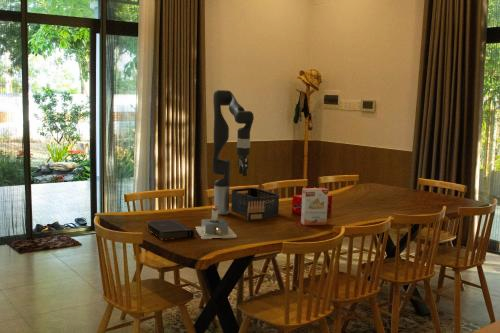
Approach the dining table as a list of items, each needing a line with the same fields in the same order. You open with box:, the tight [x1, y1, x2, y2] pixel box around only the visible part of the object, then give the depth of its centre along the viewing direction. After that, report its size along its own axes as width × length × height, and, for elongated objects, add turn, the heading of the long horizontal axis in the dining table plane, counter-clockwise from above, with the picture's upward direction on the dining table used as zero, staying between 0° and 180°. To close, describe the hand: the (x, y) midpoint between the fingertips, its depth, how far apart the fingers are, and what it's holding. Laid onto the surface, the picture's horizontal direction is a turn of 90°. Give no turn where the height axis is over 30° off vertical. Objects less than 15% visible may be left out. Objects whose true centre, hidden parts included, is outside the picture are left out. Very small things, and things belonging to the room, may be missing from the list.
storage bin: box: [230, 187, 280, 218], centre depth 351 cm, size 29×19×13 cm
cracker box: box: [300, 187, 329, 226], centre depth 325 cm, size 14×6×21 cm, turn 105°
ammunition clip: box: [246, 199, 266, 222], centre depth 331 cm, size 11×2×12 cm, turn 111°
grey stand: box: [195, 218, 238, 240], centre depth 300 cm, size 22×18×6 cm
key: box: [211, 205, 219, 223], centre depth 302 cm, size 4×4×12 cm
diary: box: [145, 219, 195, 239], centre depth 298 cm, size 19×25×5 cm
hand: (242, 175), depth 319 cm, fingers open, 8 cm apart
